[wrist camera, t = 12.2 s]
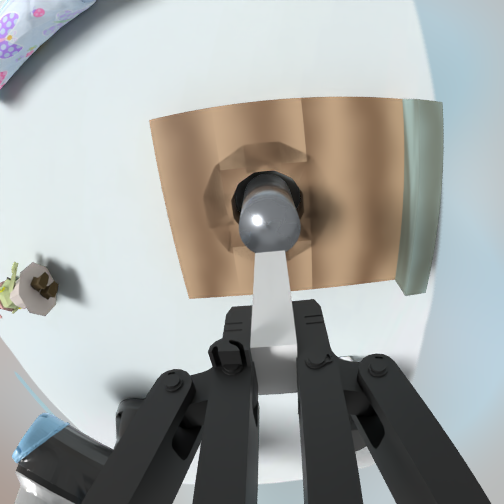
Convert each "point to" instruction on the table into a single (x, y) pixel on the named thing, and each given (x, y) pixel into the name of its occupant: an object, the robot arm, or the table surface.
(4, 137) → the table surface
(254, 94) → the table surface
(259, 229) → the grey metal cylinder
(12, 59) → the pencil case
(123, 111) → the table surface
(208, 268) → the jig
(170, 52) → the table surface
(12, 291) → the figurine
